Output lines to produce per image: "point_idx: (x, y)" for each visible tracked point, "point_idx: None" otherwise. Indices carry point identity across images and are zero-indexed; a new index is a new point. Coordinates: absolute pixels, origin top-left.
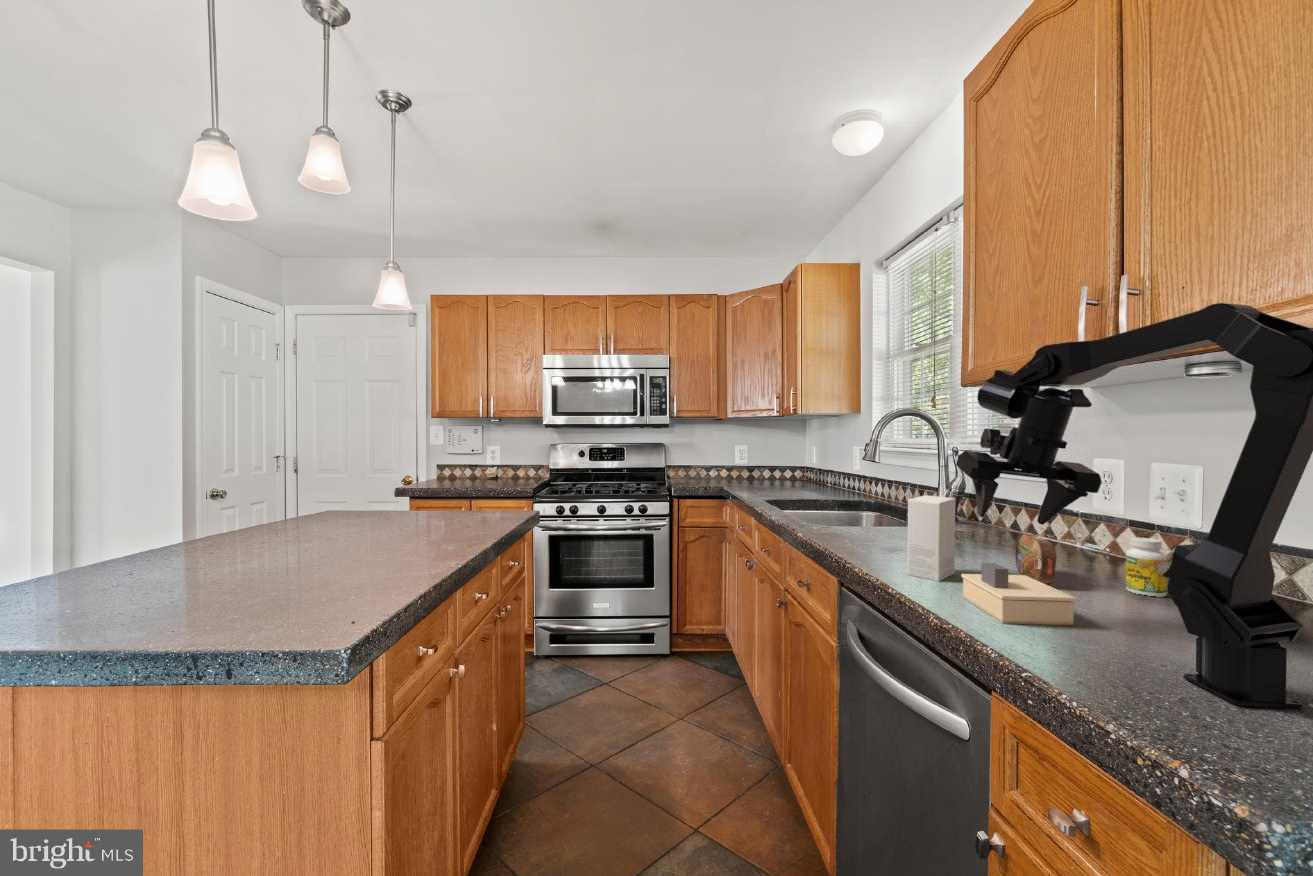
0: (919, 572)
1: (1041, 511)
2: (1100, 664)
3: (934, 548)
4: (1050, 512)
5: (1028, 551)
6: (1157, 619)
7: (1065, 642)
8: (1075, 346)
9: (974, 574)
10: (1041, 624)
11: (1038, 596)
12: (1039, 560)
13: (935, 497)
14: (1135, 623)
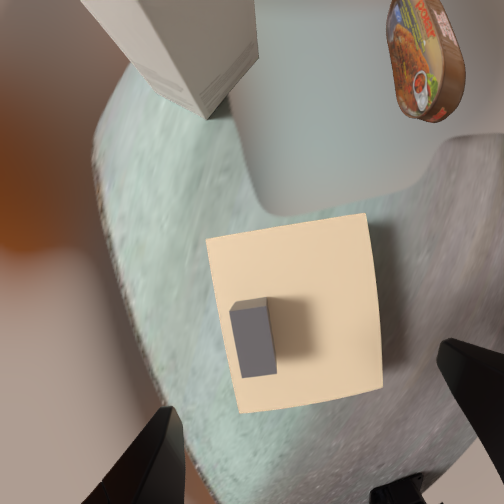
0: (171, 98)
1: (472, 372)
2: (310, 484)
3: (177, 81)
4: (470, 423)
5: (415, 31)
6: (491, 283)
7: (309, 437)
8: None
9: (238, 236)
10: None
11: (314, 400)
12: (426, 94)
13: None
14: (458, 316)
